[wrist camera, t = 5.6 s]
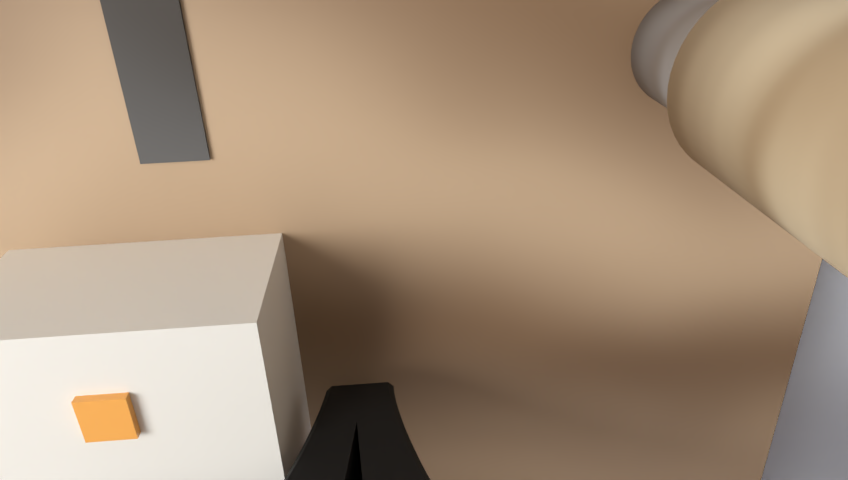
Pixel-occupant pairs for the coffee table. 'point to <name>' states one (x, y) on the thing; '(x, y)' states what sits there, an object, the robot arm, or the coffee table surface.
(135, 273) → the block
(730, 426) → the subfloor board
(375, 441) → the robot arm
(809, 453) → the coffee table surface
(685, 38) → the awl
